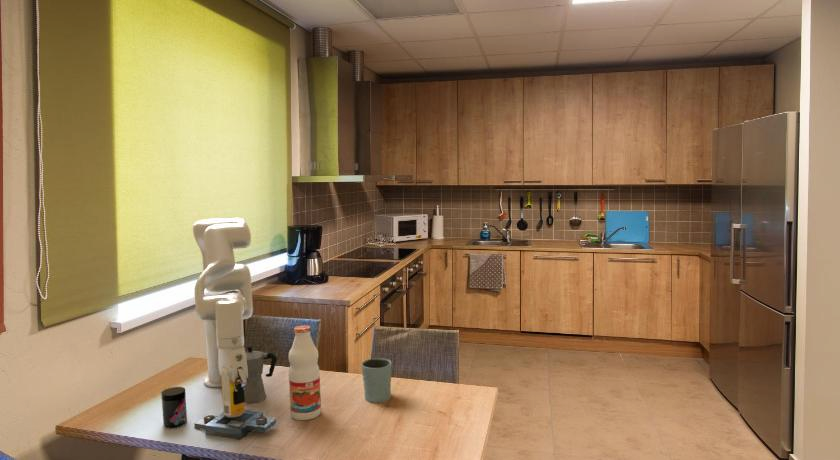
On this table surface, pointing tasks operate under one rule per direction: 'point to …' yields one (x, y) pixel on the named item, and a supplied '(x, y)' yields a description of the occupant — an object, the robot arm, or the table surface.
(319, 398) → the fruit juice
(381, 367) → the drinking glass
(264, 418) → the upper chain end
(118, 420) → the table surface
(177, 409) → the supplement container
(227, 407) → the beer can
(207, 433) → the lower chain end
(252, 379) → the coffeepot
